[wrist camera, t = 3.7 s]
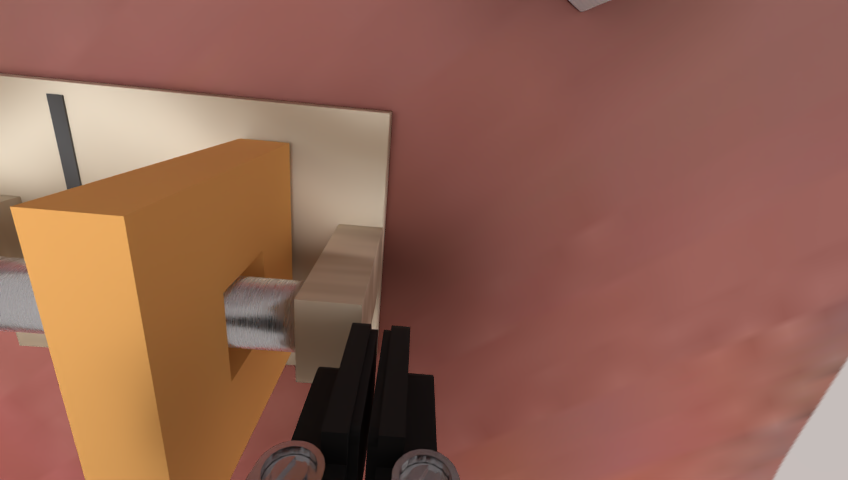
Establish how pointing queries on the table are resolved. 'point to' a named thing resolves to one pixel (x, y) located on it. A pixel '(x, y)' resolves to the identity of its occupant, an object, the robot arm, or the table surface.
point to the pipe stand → (202, 128)
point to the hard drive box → (586, 4)
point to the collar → (160, 306)
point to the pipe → (244, 305)
